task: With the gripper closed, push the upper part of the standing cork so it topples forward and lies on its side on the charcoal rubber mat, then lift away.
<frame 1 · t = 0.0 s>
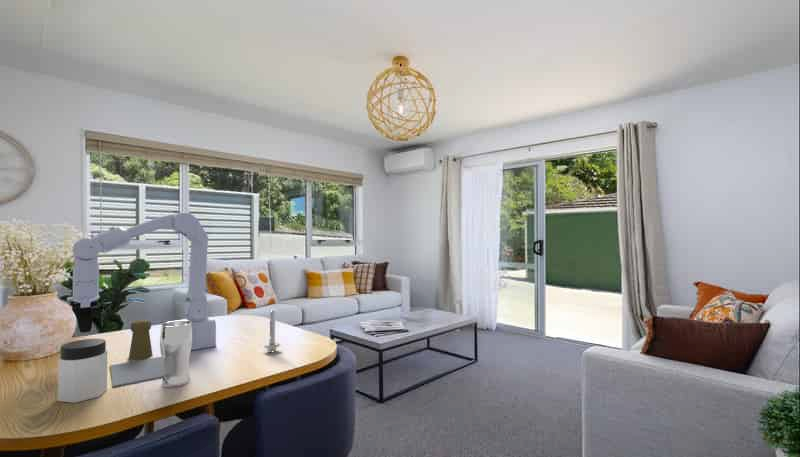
hand: (85, 329, 109), 10 cm above the table, fingers open, 7 cm apart
screw: (272, 352, 122), on the table
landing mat: (145, 370, 105), on the table
jar: (83, 396, 89), on the table
cork: (140, 357, 116), on the table
beer glass: (175, 383, 96), on the table
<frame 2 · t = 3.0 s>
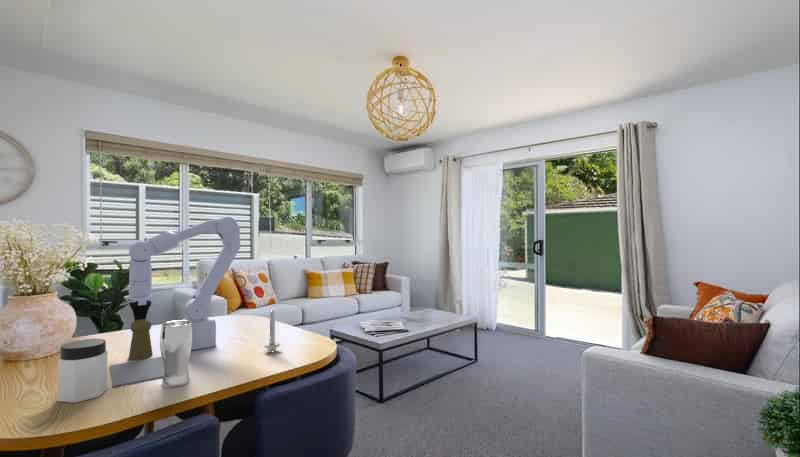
hand: (139, 325, 118), 9 cm above the table, fingers closed
cork: (140, 356, 116), on the table, touching gripper
everything else where it was.
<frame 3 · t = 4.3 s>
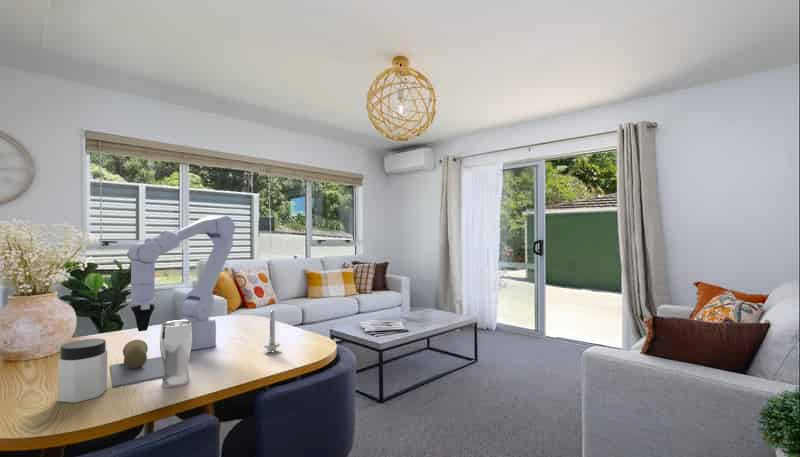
hand: (142, 330, 112), 9 cm above the table, fingers closed
cork: (135, 349, 113), point 3 cm above the table, touching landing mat
everything else where it was.
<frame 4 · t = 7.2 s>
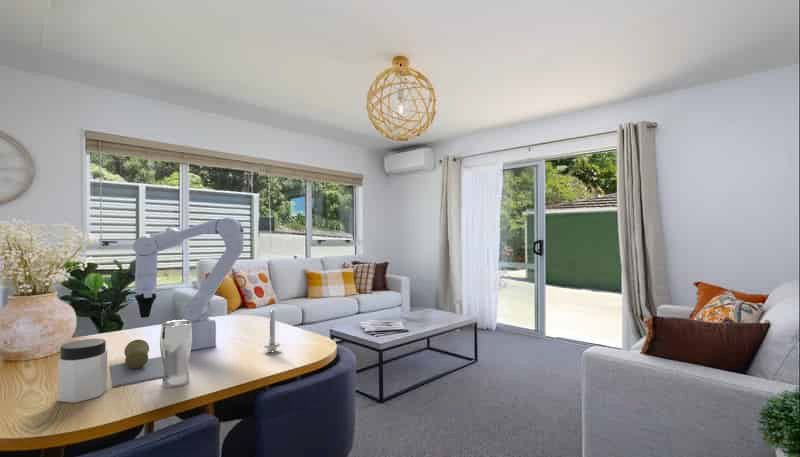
hand: (144, 317, 122), 10 cm above the table, fingers closed
nothing on the table moved.
at the end: cork tilted 90°; cork touching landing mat, table; the gripper is holding nothing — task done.
